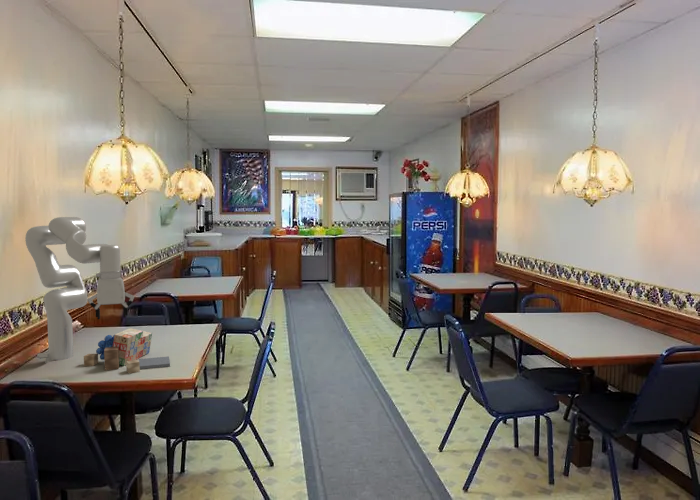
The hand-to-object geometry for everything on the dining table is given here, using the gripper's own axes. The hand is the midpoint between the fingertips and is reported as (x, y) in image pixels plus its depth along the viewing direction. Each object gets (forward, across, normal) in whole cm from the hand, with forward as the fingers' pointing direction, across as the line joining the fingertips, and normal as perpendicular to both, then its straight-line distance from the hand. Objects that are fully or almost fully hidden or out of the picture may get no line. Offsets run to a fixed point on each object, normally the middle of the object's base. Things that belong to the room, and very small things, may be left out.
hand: (111, 317), depth 219 cm
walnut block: (+20, 0, 0) cm, 20 cm away
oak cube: (+20, -9, +9) cm, 24 cm away
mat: (+20, +16, 0) cm, 26 cm away
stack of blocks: (+20, +6, +12) cm, 24 cm away
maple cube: (+21, +8, -8) cm, 23 cm away
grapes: (+20, -2, +11) cm, 23 cm away
